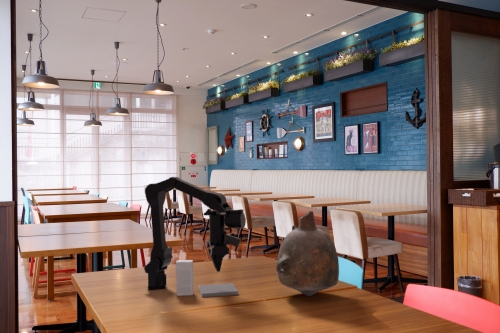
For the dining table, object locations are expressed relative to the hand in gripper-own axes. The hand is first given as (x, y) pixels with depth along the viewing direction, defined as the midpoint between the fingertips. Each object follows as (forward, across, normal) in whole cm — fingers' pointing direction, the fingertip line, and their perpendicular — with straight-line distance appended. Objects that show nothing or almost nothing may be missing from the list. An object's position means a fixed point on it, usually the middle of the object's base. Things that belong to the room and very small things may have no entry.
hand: (217, 270), depth 181 cm
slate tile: (+8, 0, 0) cm, 8 cm away
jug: (+8, -14, -30) cm, 34 cm away
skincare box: (+8, -1, +12) cm, 14 cm away
